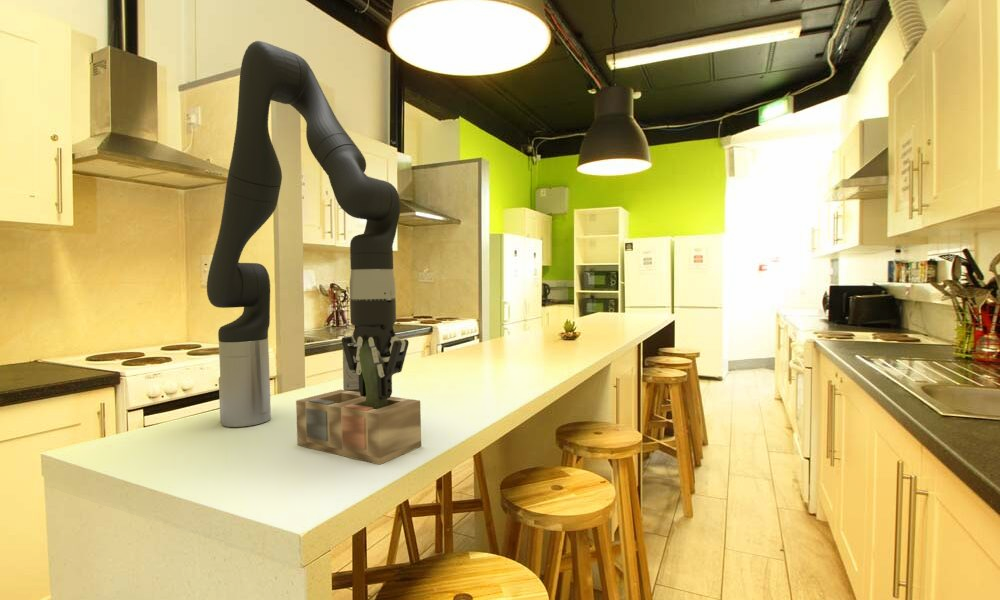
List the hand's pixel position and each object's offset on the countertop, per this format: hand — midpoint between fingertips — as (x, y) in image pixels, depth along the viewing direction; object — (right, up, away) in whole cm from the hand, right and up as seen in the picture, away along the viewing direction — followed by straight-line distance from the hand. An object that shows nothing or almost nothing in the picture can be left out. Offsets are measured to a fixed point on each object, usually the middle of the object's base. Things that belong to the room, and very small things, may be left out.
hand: (375, 396), depth 86 cm
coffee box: (-6, -9, +19) cm, 22 cm away
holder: (-4, -9, +3) cm, 10 cm away
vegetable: (0, -6, 0) cm, 6 cm away
